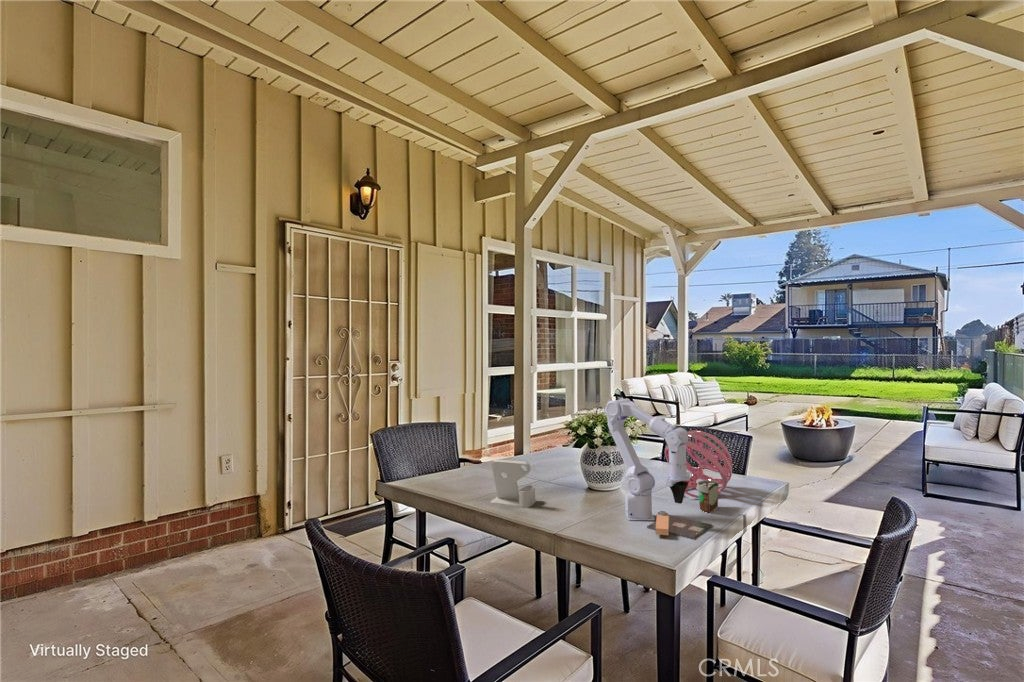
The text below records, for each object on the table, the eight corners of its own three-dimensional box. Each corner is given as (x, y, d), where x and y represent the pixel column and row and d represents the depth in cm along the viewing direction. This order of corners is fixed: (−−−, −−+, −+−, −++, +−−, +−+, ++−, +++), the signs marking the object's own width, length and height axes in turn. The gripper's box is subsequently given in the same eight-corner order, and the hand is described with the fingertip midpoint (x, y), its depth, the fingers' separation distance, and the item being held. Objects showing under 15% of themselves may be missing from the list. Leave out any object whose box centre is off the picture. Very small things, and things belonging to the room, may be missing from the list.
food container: (703, 503, 203) (702, 478, 204) (719, 506, 200) (718, 480, 200) (691, 511, 194) (691, 485, 194) (708, 514, 190) (707, 487, 190)
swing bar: (657, 518, 184) (657, 509, 184) (668, 519, 183) (668, 510, 183) (655, 534, 168) (655, 525, 168) (668, 536, 167) (668, 526, 167)
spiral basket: (679, 458, 197) (716, 413, 209) (637, 461, 222) (673, 421, 234) (723, 514, 198) (758, 467, 209) (677, 511, 223) (710, 469, 235)
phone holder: (537, 501, 211) (537, 457, 211) (529, 508, 201) (528, 462, 202) (499, 497, 218) (498, 454, 218) (489, 503, 208) (488, 459, 208)
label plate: (693, 539, 166) (693, 537, 166) (646, 527, 177) (646, 525, 177) (712, 526, 178) (712, 523, 178) (667, 516, 189) (667, 513, 189)
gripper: (679, 469, 170) (680, 510, 170) (697, 461, 181) (698, 500, 181) (659, 466, 175) (660, 506, 175) (678, 458, 185) (679, 496, 185)
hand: (678, 502), depth 178 cm, fingers closed
